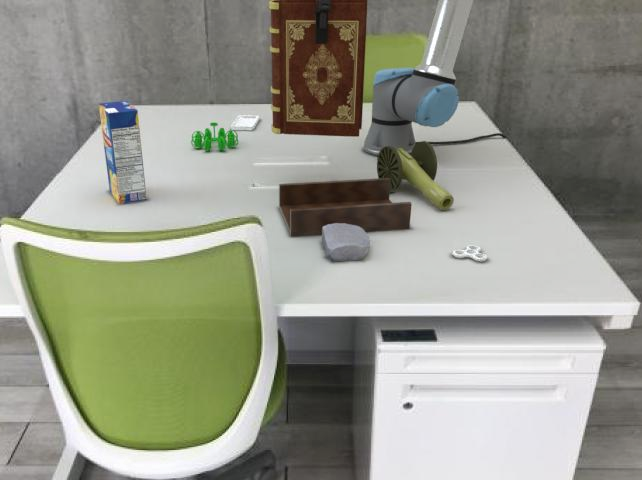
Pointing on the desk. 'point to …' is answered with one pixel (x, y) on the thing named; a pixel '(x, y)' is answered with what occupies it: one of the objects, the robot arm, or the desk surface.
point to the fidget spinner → (470, 253)
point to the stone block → (345, 242)
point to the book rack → (341, 206)
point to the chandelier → (214, 139)
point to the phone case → (245, 123)
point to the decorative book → (317, 68)
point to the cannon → (414, 171)
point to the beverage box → (123, 151)
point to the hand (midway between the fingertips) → (317, 40)
